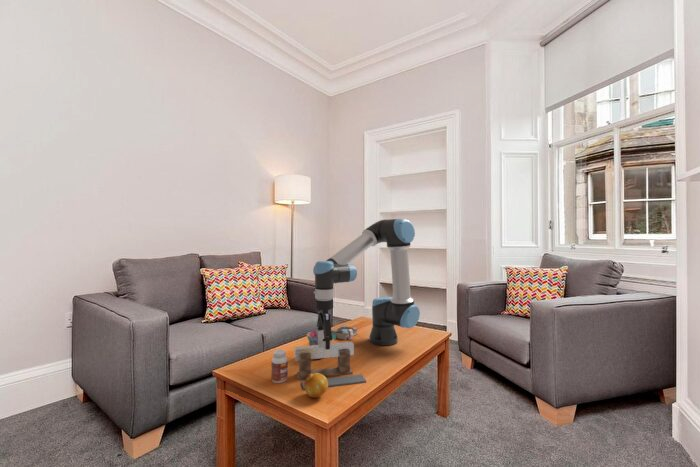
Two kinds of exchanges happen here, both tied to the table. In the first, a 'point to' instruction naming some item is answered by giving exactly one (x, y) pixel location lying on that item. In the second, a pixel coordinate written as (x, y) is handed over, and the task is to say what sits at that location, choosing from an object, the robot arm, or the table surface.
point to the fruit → (316, 385)
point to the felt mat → (343, 380)
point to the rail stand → (340, 370)
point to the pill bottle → (279, 366)
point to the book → (344, 333)
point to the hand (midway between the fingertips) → (323, 351)
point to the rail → (318, 350)
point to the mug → (313, 338)
